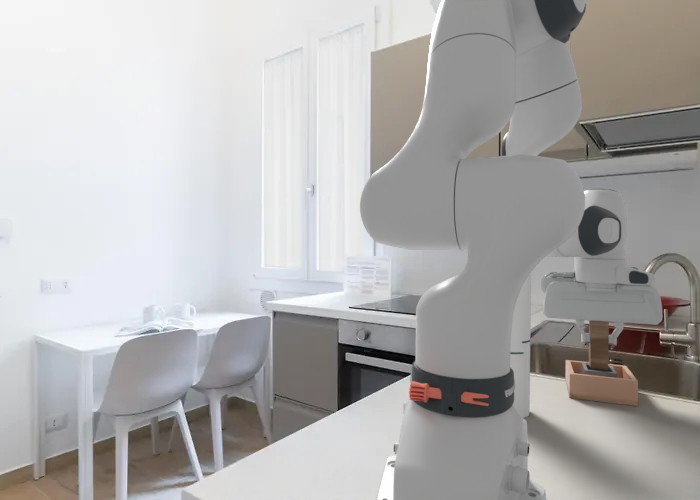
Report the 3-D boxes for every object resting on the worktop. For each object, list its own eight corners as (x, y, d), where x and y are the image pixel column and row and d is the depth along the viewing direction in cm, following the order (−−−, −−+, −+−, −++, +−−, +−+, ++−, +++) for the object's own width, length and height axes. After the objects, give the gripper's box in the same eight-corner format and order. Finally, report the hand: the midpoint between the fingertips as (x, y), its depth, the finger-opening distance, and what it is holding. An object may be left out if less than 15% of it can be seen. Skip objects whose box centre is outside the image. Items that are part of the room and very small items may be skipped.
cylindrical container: (538, 413, 75) (540, 267, 75) (511, 421, 71) (512, 268, 71) (504, 400, 81) (505, 265, 81) (477, 407, 77) (478, 266, 77)
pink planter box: (637, 406, 79) (638, 379, 78) (569, 397, 83) (569, 372, 83) (625, 387, 89) (626, 364, 89) (565, 381, 93) (565, 358, 93)
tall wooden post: (608, 369, 84) (609, 307, 84) (590, 367, 85) (591, 306, 85) (605, 365, 87) (606, 305, 87) (588, 363, 88) (589, 304, 88)
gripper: (542, 272, 87) (541, 342, 87) (665, 276, 79) (664, 352, 79) (541, 270, 92) (540, 335, 93) (656, 273, 85) (655, 344, 85)
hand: (598, 343), depth 86 cm, fingers closed on tall wooden post, 3 cm apart
